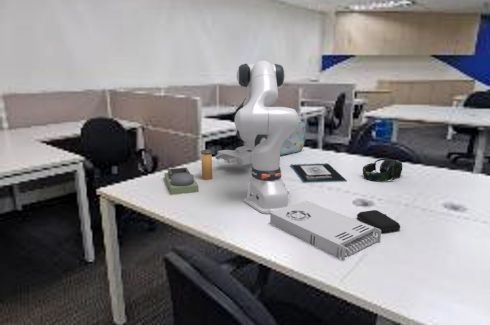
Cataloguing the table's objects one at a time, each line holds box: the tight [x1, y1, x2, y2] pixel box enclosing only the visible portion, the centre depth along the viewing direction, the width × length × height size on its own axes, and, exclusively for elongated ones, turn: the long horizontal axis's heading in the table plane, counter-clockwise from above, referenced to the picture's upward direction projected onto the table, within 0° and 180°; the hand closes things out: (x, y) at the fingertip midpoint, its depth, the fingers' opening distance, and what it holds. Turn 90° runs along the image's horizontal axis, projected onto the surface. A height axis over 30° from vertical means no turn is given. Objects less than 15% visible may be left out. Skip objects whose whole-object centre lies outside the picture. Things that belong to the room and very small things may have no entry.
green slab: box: [164, 167, 199, 196], centre depth 177 cm, size 24×12×6 cm, turn 18°
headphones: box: [362, 157, 403, 182], centre depth 189 cm, size 13×13×20 cm
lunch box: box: [267, 120, 307, 156], centre depth 236 cm, size 27×10×21 cm, turn 130°
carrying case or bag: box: [356, 209, 401, 234], centre depth 137 cm, size 11×3×15 cm
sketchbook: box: [290, 162, 348, 184], centre depth 196 cm, size 22×30×2 cm
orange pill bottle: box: [200, 149, 213, 181], centre depth 186 cm, size 5×5×14 cm
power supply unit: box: [269, 200, 382, 261], centre depth 130 cm, size 19×33×5 cm, turn 38°
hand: (222, 159), depth 192 cm, fingers open, 8 cm apart
